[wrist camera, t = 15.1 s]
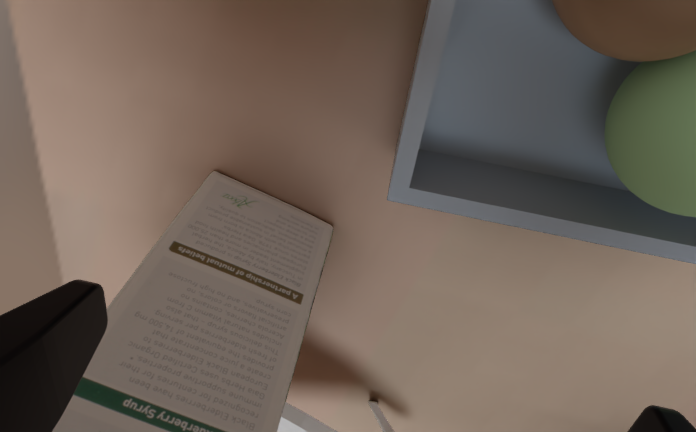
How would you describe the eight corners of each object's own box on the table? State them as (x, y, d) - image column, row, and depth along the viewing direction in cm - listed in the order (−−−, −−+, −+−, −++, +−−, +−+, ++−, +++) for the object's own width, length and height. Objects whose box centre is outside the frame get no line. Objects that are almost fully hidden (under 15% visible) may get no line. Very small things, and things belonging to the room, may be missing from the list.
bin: (715, 218, 19) (765, 278, 16) (394, 152, 20) (386, 200, 17) (984, -193, 12) (1151, -216, 10) (488, -274, 13) (502, -319, 10)
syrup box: (210, 164, 21) (-98, 540, 9) (342, 225, 22) (217, 651, 10) (178, 260, 24) (-83, 636, 12) (294, 311, 25) (155, 716, 13)
